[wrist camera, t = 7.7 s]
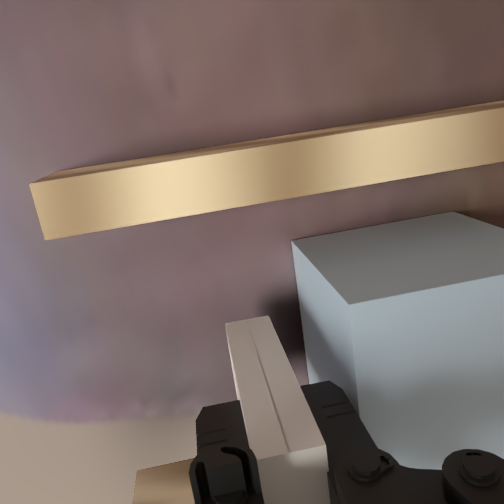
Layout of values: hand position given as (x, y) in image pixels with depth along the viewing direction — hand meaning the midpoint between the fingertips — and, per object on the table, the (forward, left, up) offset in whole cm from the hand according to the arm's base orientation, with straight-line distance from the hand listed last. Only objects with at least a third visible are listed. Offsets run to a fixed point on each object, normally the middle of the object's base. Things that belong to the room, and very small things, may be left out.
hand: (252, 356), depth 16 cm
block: (+5, 0, -2) cm, 5 cm away
